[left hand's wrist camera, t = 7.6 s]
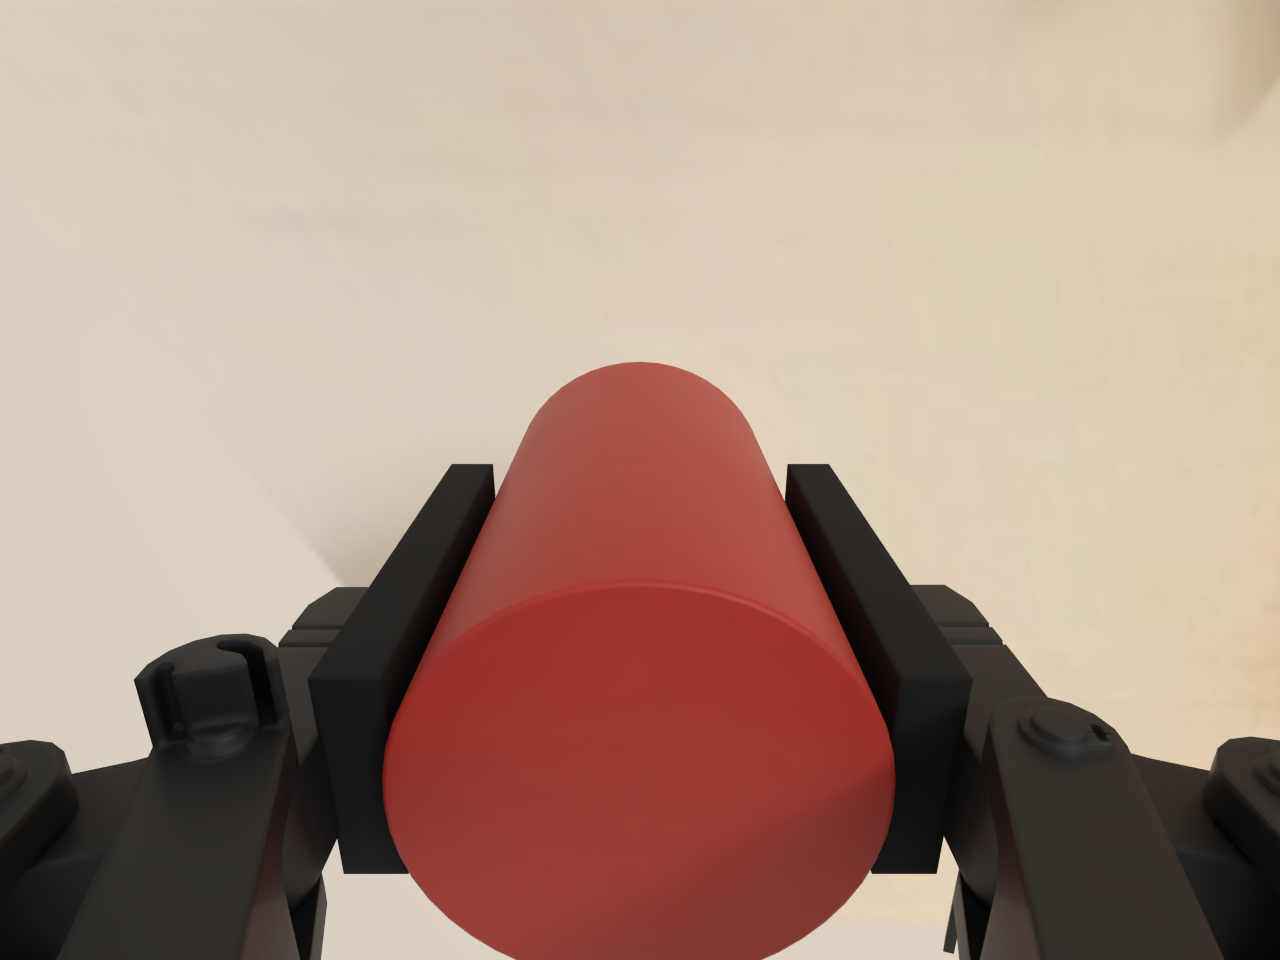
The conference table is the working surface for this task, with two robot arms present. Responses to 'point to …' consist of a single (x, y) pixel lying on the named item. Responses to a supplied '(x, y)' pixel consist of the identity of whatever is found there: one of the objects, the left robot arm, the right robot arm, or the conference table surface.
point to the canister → (639, 699)
